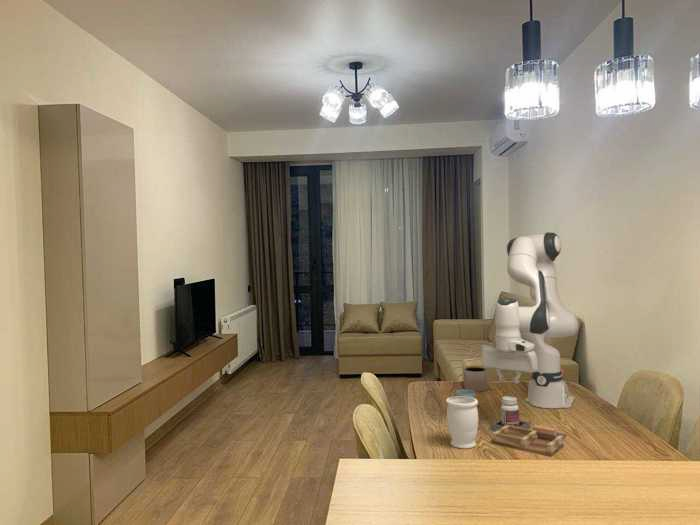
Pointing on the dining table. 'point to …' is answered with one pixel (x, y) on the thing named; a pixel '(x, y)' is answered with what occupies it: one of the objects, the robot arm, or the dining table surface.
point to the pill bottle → (510, 411)
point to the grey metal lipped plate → (549, 436)
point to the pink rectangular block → (545, 430)
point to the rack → (526, 440)
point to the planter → (475, 379)
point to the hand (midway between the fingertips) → (509, 382)
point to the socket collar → (498, 425)
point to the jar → (462, 421)
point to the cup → (465, 393)
